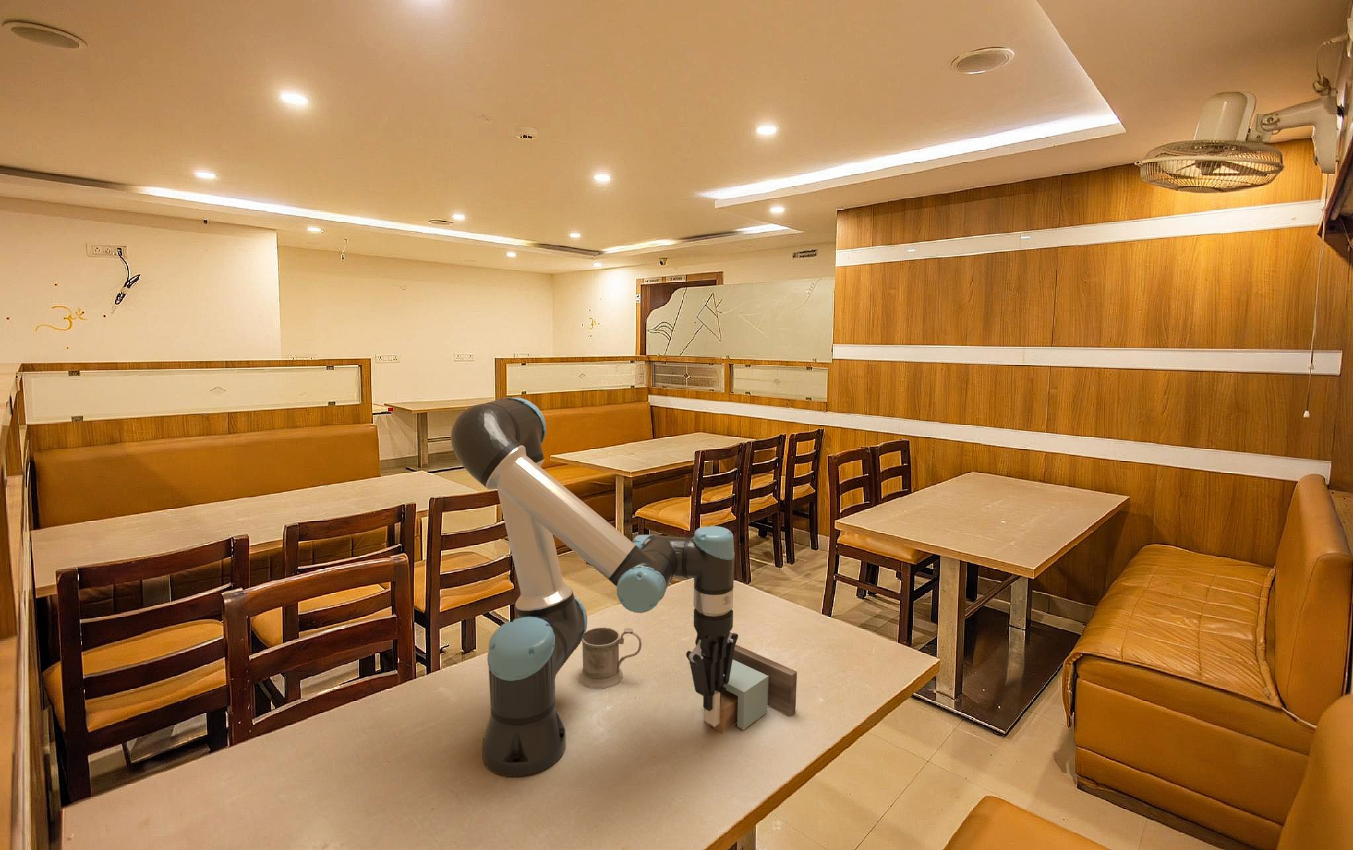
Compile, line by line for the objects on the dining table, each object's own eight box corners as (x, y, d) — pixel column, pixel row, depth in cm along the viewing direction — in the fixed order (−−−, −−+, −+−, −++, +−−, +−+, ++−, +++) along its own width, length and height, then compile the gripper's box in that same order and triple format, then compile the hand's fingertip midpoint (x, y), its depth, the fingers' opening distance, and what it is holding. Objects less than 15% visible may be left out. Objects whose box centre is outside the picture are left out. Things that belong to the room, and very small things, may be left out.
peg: (723, 733, 123) (723, 709, 122) (703, 722, 126) (704, 699, 125) (751, 713, 129) (751, 690, 128) (732, 703, 133) (732, 681, 132)
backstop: (789, 716, 128) (791, 675, 127) (721, 682, 140) (722, 644, 139) (795, 712, 129) (797, 671, 128) (727, 678, 142) (727, 641, 140)
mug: (572, 685, 139) (571, 634, 137) (588, 662, 148) (588, 614, 146) (634, 694, 135) (634, 642, 133) (647, 670, 145) (647, 621, 143)
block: (743, 729, 123) (744, 692, 122) (704, 708, 130) (705, 672, 129) (767, 712, 129) (768, 676, 128) (729, 692, 136) (729, 658, 135)
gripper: (705, 626, 113) (704, 746, 116) (750, 603, 122) (747, 715, 126) (675, 613, 118) (675, 728, 121) (720, 592, 127) (718, 700, 131)
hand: (711, 722), depth 124 cm, fingers closed
